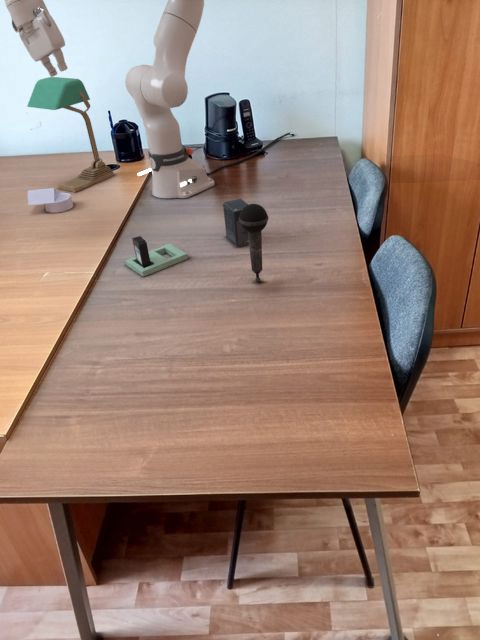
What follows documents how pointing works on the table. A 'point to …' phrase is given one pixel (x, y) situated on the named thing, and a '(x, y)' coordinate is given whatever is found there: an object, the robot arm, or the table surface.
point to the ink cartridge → (141, 251)
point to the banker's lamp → (68, 93)
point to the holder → (158, 259)
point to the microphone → (254, 233)
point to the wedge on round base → (50, 199)
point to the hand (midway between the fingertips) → (59, 73)
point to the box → (235, 222)
